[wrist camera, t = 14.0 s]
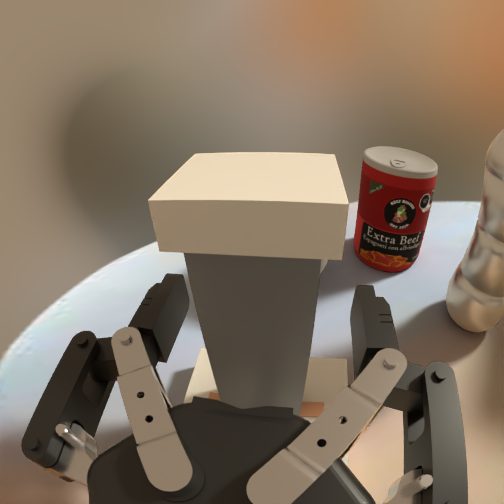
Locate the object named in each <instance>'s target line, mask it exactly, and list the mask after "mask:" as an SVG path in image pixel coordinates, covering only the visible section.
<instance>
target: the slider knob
mask: <svg viewBox="0 0 504 504" xmlns="http://www.w3.org/2000/svg"><path fill="white" fill-rule="evenodd" d="M148 204H149V208H150V213H151V217H152V222H153V226H154V230H155V234H156V238H157V242H158V246H159V250H160V251H162V252H181V253H184V257H185V262H186V266H187V271H188V275H189V280H190V284H191V289H192V293H193V298H194V302H195V306H196V310H197V314H198V319H199V323H200V327H201V331H202V335H203V339H204V342H205V346H206V350H207V354H208V358H209V361H210V365H211V369H212V373H213V376H214V380H215V383H216V387H217V390H218V394H219V397H220V401H221V402H224V403H227V404H229V405H232V406H234V407H237V408H240V409H246V408H255V407H263V406H276V407H289V408H293V414H294V415H297V416H300V411H301V406H302V400H303V394H304V389H305V383H306V376H307V370H308V364H309V357H310V350H311V343H312V336H313V329H314V321H315V313H316V305H317V296H318V288H319V278H320V269H321V259H326V260H342V256H343V249H344V241H345V234H346V225H347V216H348V207H349V203H348V199H347V196H346V192H345V188H344V185H343V181H342V178H341V175H340V171H339V168H338V164H337V161H336V158H335V155H334V154H315V153H281V152H279V153H278V152H235V153H202V154H194V155H193V157H191V158H190V159H189V160H188V161H187V162H186V163H185V164H184V165H183V166H182V167H181V168H180V169H179V170H178V171H177V172H176V173H175V174H174V175H173V176H172V177H171V178H170V179H168V181H166V183H164V184H163V185H162V187H160V188H159V190H158V191H157V192H156V193H155V194H154V195H153V196H152V197H151V198H150V199H149V200H148Z"/></svg>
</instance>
